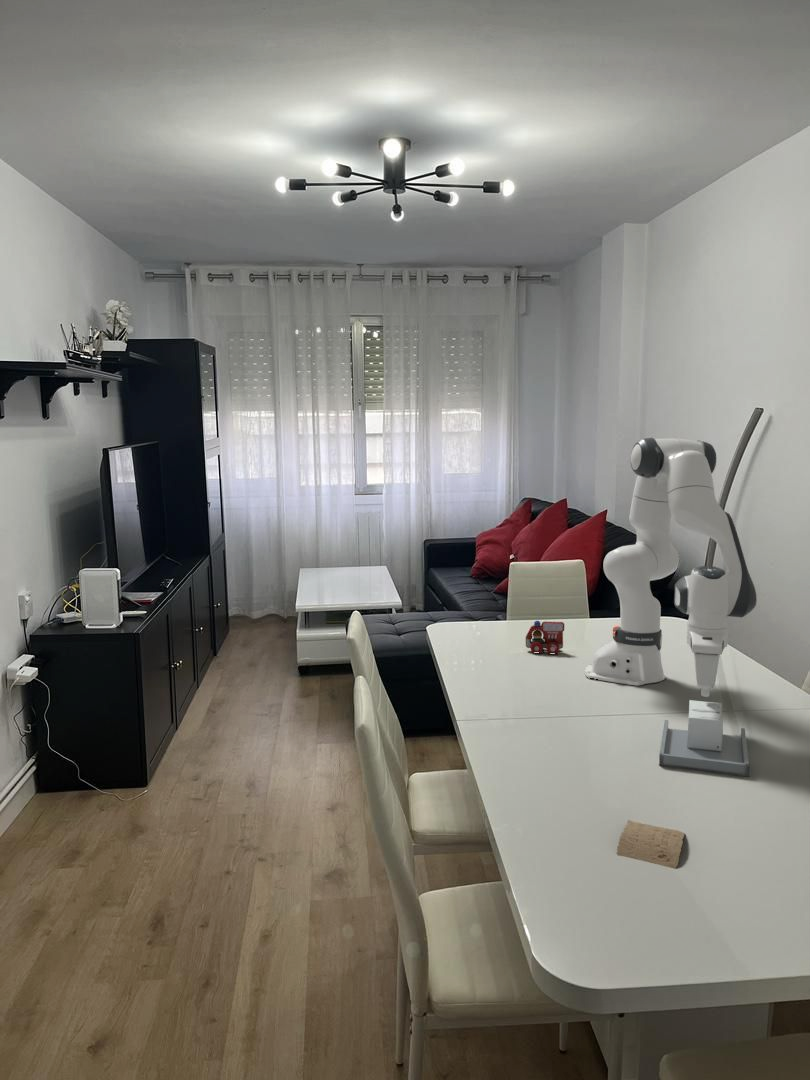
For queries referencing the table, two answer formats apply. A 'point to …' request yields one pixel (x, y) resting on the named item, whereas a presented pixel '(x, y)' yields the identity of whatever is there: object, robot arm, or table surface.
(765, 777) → the table surface
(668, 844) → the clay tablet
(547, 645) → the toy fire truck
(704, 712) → the supplement box
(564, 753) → the table surface
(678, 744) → the tray
